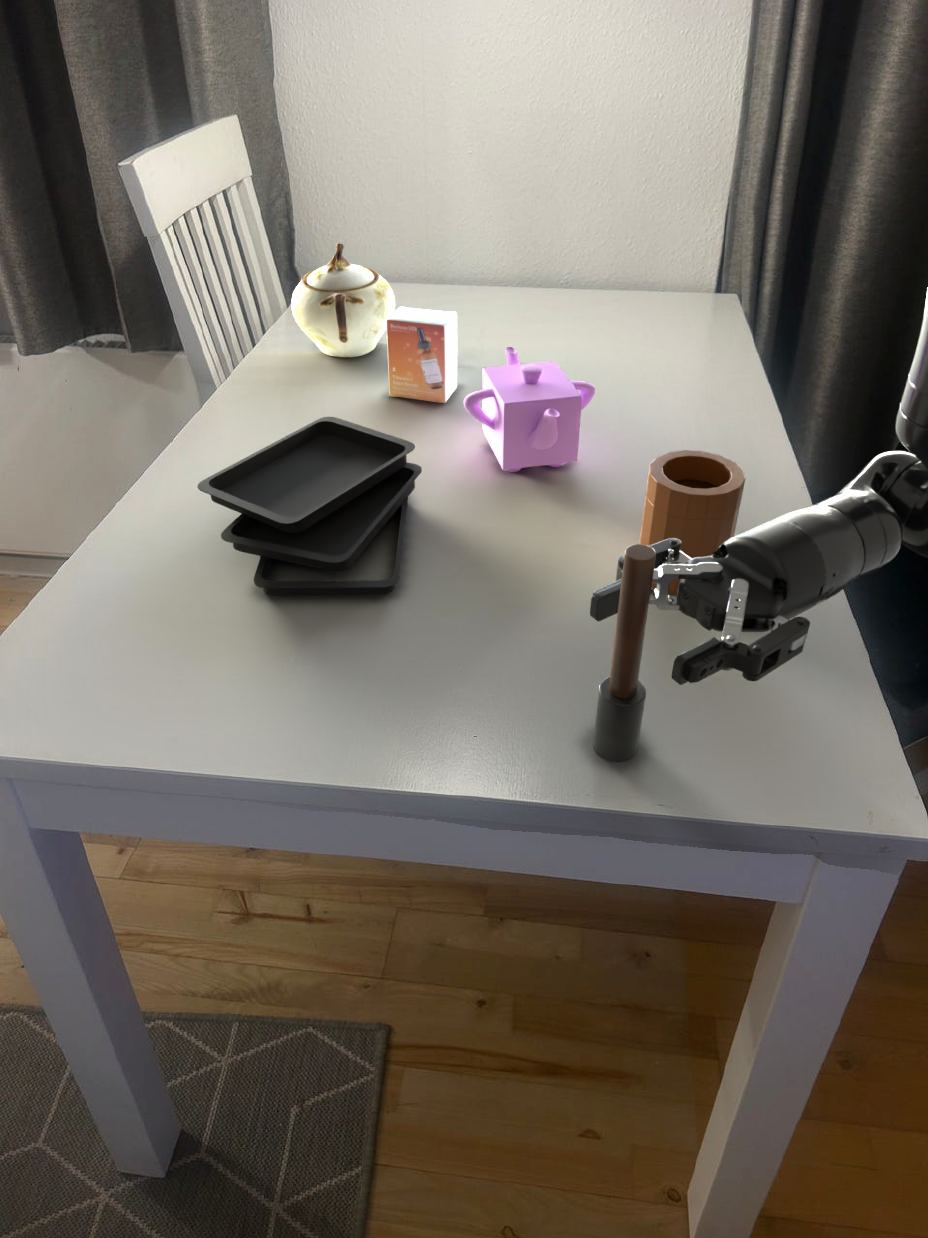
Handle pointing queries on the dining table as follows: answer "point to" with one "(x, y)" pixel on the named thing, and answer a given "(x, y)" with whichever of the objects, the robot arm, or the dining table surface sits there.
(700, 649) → the robot arm
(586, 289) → the dining table surface
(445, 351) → the small box
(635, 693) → the brush
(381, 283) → the sugar bowl
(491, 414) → the teapot
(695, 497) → the brown cylindrical holder
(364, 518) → the tray
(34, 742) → the dining table surface
